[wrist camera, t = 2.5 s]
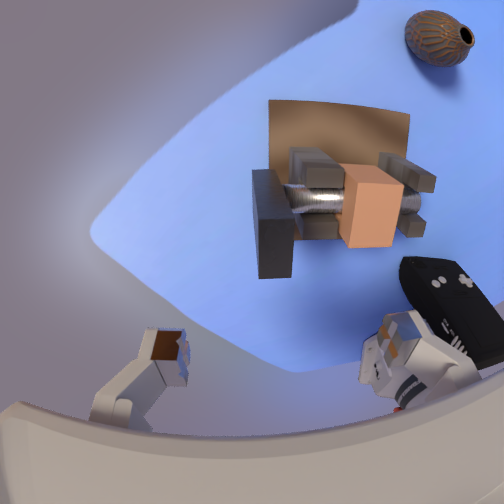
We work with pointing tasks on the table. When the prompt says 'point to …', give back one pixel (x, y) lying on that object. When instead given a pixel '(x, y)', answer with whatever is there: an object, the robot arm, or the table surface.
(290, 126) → the shaft stand
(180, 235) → the table surface
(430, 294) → the handheld gaming console
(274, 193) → the shaft
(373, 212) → the block
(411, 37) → the vase
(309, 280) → the table surface
